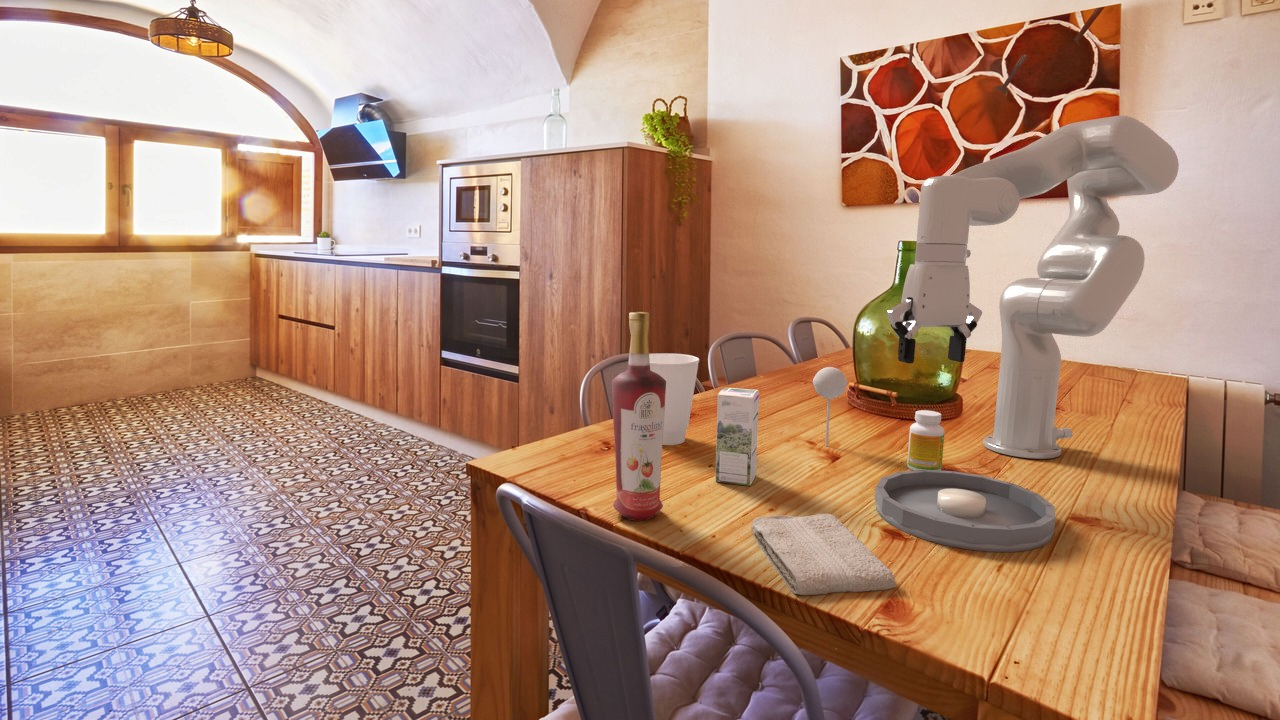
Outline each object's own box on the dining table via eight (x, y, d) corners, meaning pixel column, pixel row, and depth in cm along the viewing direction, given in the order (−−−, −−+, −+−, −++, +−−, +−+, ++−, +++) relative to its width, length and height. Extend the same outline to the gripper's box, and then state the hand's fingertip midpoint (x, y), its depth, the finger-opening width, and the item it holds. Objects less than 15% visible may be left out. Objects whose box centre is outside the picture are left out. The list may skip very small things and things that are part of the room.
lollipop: (807, 448, 125) (811, 368, 123) (812, 439, 130) (815, 363, 128) (842, 452, 123) (846, 371, 120) (845, 443, 128) (849, 365, 126)
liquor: (623, 528, 89) (624, 316, 84) (603, 508, 95) (603, 311, 91) (673, 519, 92) (676, 314, 87) (651, 501, 98) (653, 309, 94)
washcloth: (829, 528, 91) (830, 506, 90) (900, 595, 73) (902, 568, 73) (744, 533, 89) (745, 510, 88) (796, 603, 71) (797, 576, 71)
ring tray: (968, 483, 107) (970, 465, 106) (1094, 541, 86) (1097, 519, 85) (845, 495, 101) (846, 476, 100) (948, 561, 80) (950, 537, 79)
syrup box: (756, 475, 110) (760, 388, 107) (750, 487, 104) (753, 395, 102) (722, 471, 112) (724, 385, 109) (714, 483, 106) (716, 393, 104)
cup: (679, 452, 122) (680, 365, 119) (624, 442, 128) (624, 359, 125) (708, 437, 132) (710, 356, 129) (656, 428, 138) (656, 351, 135)
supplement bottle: (944, 475, 111) (949, 417, 109) (910, 472, 112) (914, 415, 110) (937, 464, 116) (941, 410, 114) (904, 462, 117) (908, 408, 115)
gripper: (968, 256, 114) (958, 356, 116) (879, 254, 109) (871, 359, 112) (1003, 257, 107) (991, 364, 109) (909, 255, 102) (900, 366, 105)
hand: (931, 361), depth 111 cm, fingers open, 9 cm apart
